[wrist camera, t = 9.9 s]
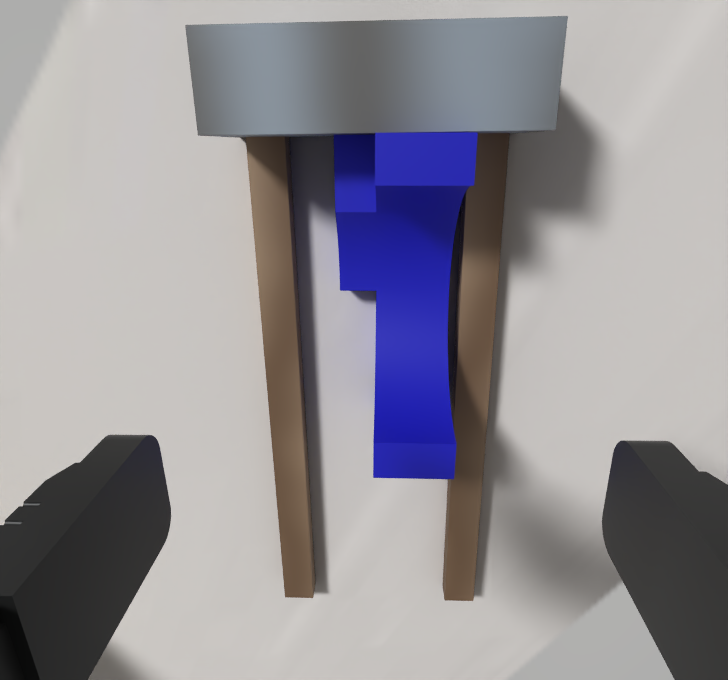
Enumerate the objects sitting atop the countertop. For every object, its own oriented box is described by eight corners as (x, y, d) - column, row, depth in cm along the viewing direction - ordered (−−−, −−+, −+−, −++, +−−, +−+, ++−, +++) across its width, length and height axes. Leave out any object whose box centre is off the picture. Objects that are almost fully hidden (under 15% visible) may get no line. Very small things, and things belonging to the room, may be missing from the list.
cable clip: (340, 136, 21) (324, 133, 16) (452, 135, 21) (477, 132, 15) (345, 403, 25) (333, 476, 20) (438, 404, 25) (454, 479, 20)
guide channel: (523, 46, 20) (567, 16, 15) (479, 586, 29) (498, 672, 24) (231, 52, 20) (185, 25, 15) (279, 582, 29) (259, 666, 24)
